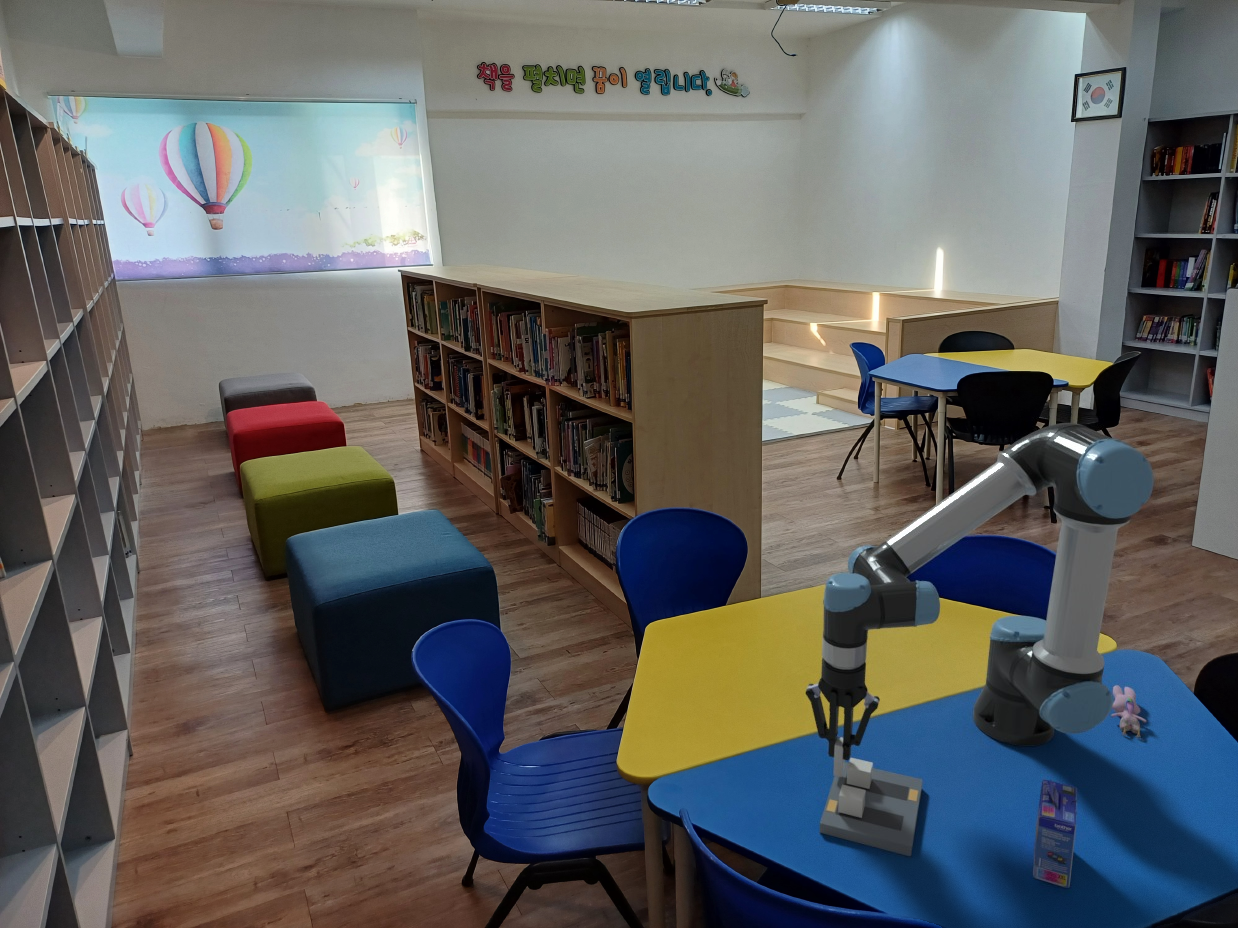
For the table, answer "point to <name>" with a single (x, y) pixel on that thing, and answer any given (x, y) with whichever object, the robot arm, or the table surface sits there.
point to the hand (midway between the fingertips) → (838, 771)
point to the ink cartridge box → (1055, 833)
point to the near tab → (851, 801)
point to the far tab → (859, 773)
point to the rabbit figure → (1127, 710)
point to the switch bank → (877, 812)
